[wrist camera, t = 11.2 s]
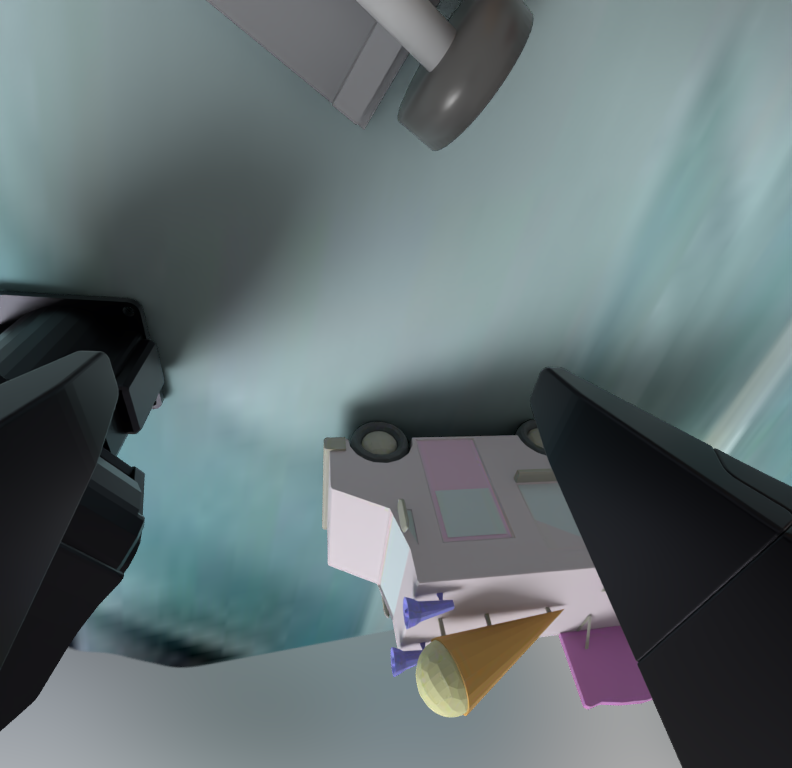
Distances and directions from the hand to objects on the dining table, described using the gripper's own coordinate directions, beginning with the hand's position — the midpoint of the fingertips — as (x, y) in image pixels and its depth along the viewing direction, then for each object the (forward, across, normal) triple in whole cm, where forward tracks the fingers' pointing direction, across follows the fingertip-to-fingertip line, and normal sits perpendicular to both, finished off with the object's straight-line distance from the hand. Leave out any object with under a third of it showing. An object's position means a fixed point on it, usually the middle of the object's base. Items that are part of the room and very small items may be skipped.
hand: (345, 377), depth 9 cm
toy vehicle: (+13, -10, +16) cm, 23 cm away
